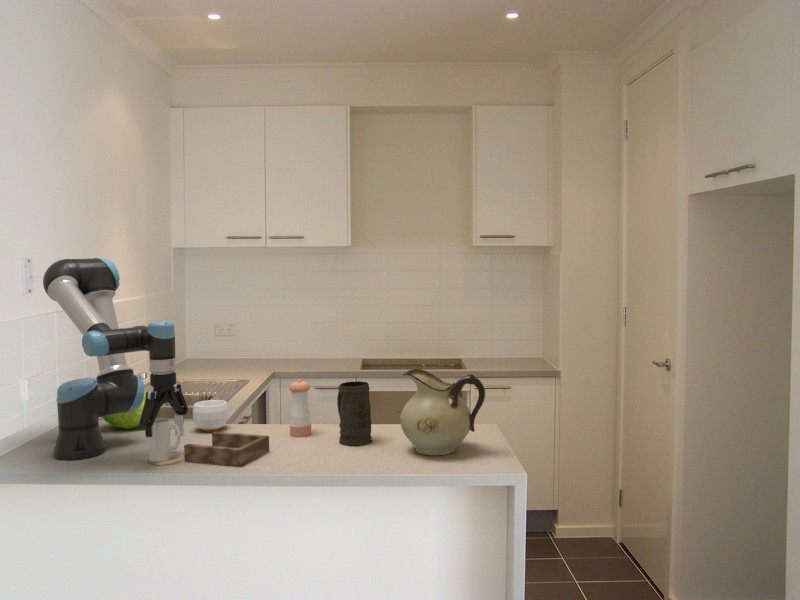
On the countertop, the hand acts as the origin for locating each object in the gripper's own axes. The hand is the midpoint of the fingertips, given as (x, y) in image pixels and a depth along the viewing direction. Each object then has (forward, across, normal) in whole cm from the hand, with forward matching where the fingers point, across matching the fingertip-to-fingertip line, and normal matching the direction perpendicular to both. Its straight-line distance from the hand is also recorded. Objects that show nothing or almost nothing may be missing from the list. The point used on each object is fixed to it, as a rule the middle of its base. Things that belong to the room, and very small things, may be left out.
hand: (165, 441), depth 213 cm
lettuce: (+6, +31, +39) cm, 50 cm away
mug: (+6, 0, 0) cm, 6 cm away
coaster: (+6, 0, 0) cm, 6 cm away
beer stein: (+6, +36, -46) cm, 59 cm away
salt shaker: (+6, +39, -26) cm, 47 cm away
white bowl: (+6, +36, +8) cm, 37 cm away
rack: (+6, +9, -15) cm, 18 cm away
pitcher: (+6, +33, -77) cm, 84 cm away
